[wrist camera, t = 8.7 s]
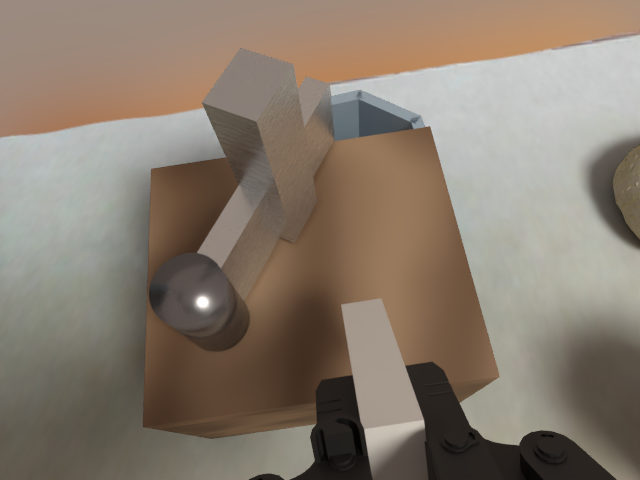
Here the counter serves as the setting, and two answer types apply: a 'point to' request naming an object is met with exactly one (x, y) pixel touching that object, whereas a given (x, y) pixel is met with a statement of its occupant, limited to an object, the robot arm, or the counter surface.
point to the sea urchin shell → (629, 189)
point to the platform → (317, 288)
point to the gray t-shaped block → (248, 195)
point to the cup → (369, 116)
